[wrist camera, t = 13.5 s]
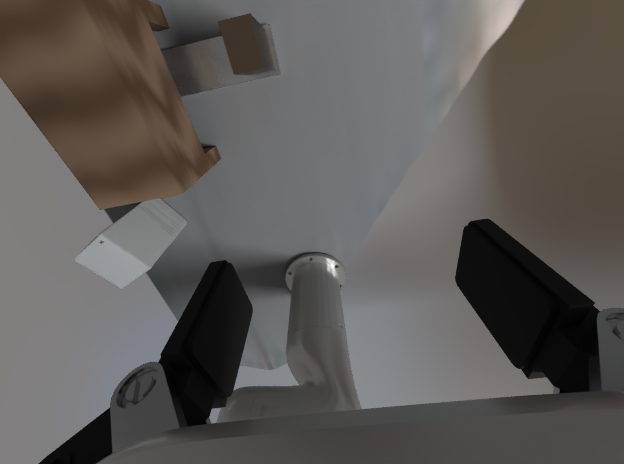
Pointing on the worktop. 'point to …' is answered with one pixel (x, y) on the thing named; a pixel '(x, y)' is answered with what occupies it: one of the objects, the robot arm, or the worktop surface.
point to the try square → (224, 57)
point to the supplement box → (132, 243)
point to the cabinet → (103, 95)
